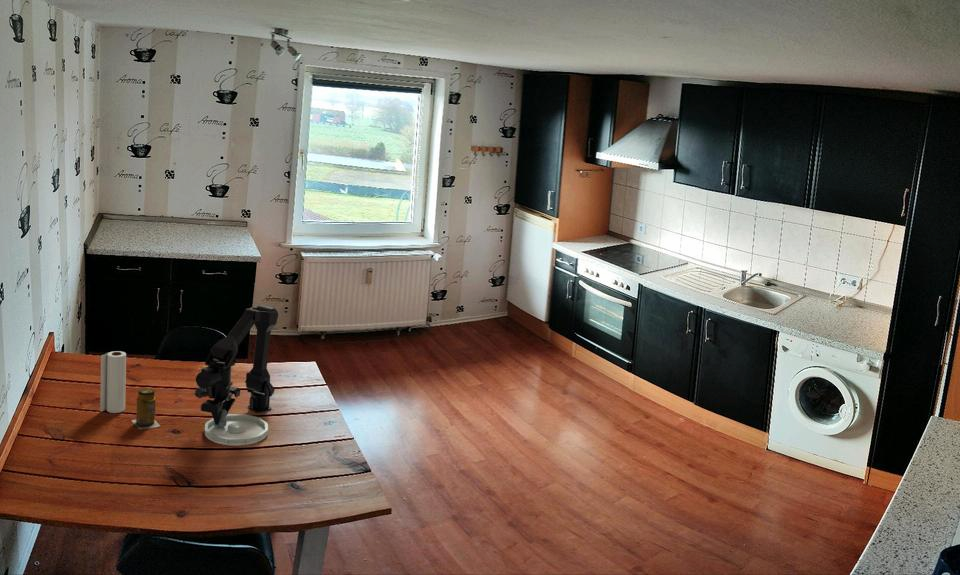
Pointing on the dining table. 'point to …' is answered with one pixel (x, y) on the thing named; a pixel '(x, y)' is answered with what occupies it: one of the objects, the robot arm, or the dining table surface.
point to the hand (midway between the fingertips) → (219, 422)
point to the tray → (248, 433)
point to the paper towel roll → (113, 382)
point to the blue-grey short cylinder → (222, 420)
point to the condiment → (145, 409)
